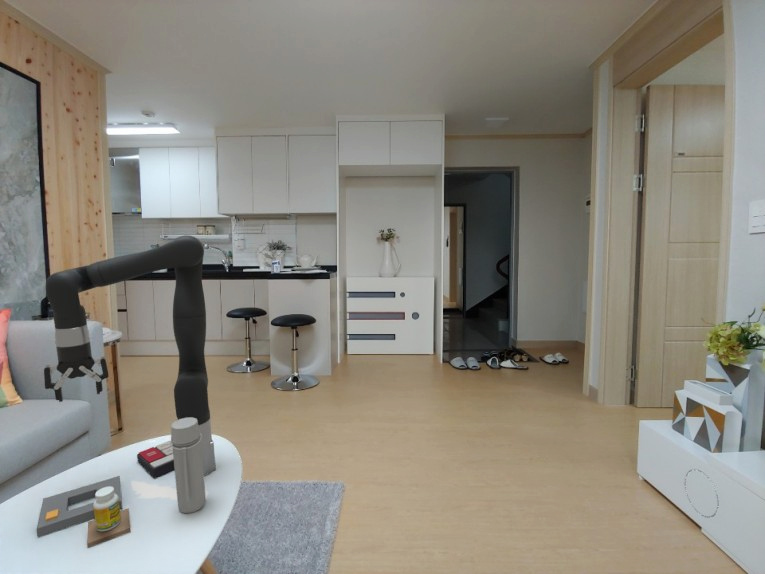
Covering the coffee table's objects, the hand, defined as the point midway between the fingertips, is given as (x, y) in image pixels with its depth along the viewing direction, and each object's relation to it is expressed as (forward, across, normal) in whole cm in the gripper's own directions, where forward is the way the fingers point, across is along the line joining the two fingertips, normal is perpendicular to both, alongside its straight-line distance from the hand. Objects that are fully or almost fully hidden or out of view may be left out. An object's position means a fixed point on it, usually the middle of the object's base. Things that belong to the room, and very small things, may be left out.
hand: (80, 397), depth 113 cm
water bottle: (+30, -23, +24) cm, 45 cm away
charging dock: (+30, +2, +6) cm, 31 cm away
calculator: (+31, -19, -6) cm, 37 cm away
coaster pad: (+30, -4, +20) cm, 36 cm away
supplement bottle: (+29, -4, +20) cm, 36 cm away
